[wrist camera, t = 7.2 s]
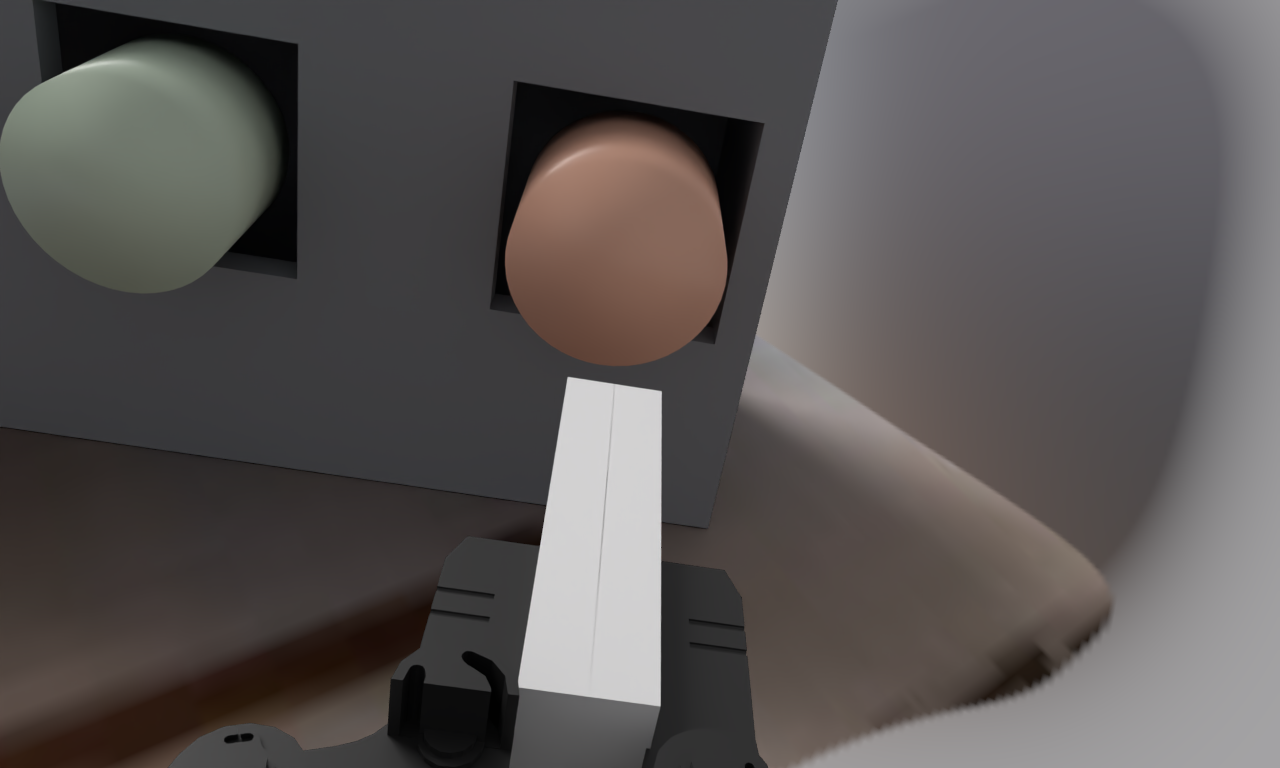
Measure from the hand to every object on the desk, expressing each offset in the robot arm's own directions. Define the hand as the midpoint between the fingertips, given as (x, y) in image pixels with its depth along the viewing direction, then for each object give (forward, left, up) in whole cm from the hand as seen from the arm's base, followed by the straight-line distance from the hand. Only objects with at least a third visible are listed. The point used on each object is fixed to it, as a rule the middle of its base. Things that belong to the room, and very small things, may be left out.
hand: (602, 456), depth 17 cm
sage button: (0, +15, -3) cm, 15 cm away
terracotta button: (+7, +6, -2) cm, 10 cm away
